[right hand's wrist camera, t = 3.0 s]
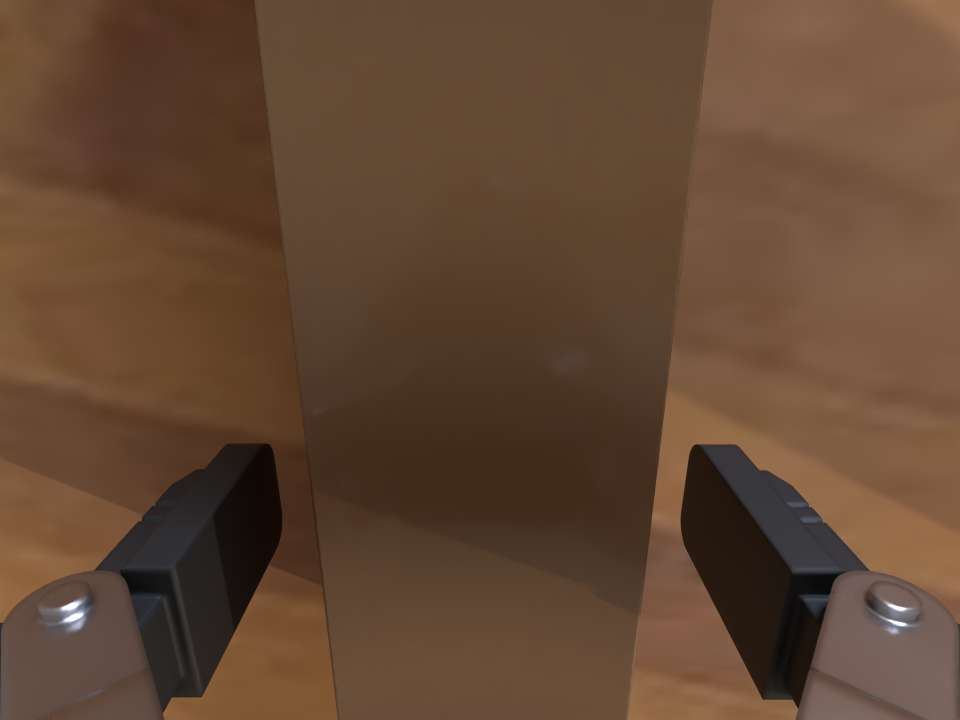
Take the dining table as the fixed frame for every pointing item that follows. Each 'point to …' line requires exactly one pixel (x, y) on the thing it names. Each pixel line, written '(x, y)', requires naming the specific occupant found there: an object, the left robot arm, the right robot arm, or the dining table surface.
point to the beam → (483, 332)
